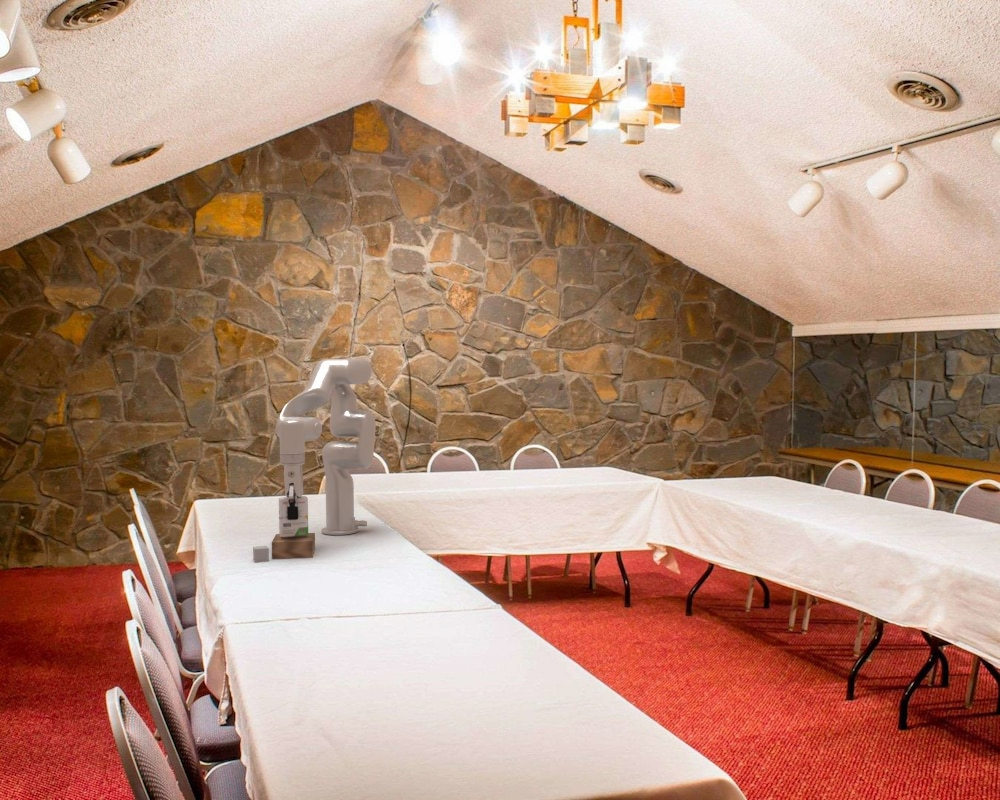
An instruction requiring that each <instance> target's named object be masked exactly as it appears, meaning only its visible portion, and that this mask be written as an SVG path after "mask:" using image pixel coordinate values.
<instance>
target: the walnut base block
mask: <svg viewBox="0 0 1000 800" xmlns="http://www.w3.org/2000/svg"><path fill="white" fill-rule="evenodd" d="M315 551H316V533H315V532H308V535H304V536H289V537H280V535H279V533H276V534H275V535H274V537H273V539H272V541H271V559H272V560H276V559H279V560H280V559H281V560H282V559H300V558H303V559H305V558H313V557H314V553H315Z"/></svg>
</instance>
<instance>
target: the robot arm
mask: <svg viewBox="0 0 1000 800" xmlns="http://www.w3.org/2000/svg"><path fill="white" fill-rule="evenodd" d="M372 373H373V372H372V366H371V363H370V362H369V361H368V360H367V359H366V358H365V359H364V358H326V359H321V360H319V361H318V362H317V363H316V365H315V367H314V369H313V371H312V374H311V375H310V378H309V380H308V382H307V385H306V386H305V387H306V388H305V389H304V390H303V391H302V392H300V393H299V394H297V395H296V396H294V397H293V398H292V399H291V400H289V401H288V402H287V403H286V404H285V405H284V406H283V407H282V410H281V411H280V414H279V416H278V417H277V418H278V419H277V421H276V424H275V432H276V435H277V438H279V465H280V466H283V476H284V479H283V480H284V483H283V484H284V496H285V497H288V507H287V519H288V520H297V519H298V506H297V497H301V496H303V495H304V477H303V476H304V474H303V465H305V464H306V448H305V447H306V443H305V442H313V441H316V440H318V439H319V438H320V437H321V435H322V433H323V425H322V422H321V420H319V419H318V418H316V417H312V416H302V415H303V414H305V413H309V412H311V411H314V410H318V409H319V408H322V407H324V406H326V405H328V404H329V402H330V399H331V406H330V408H331V409H330V416H329V418H330V419H329V431H330V434H331V435H332V436H334V437H336V438H342V439H343V438H344V439H345V438H346V439H347V438H348V439H349V438H351V439H353V438H354V439H358V441H356V440H355V441H353V440H352V441H349V440H333V441H329V442H327V443H325V445H324V446H323V448H322V451H321V452H322V453H321V456H322V462H323V467H324V476H325V477H324V478H325V521H326V523H325V524H326V525H325V527H323V528H322V529H321V533H322V534H325V535H329V536H345V535H352V534H355V533H359V532H360V530H359V527H367V526H368V520H358V519H356V517H355V508H354V507H355V499H354V497H355V496H354V493H355V491H354V486H355V485H354V480H353V476H352V475H351V472H349V470H367V469H369V468H370V467H371V466H372V464H373V460H374V452H375V441H376V440H375V439H376V428H377V425H376V418H375V416H374V414H373V413H372V412H371V411H369V410H360V409H358V410H357V398H358V397H357V394H356V393H355V391H354V390H353V388H352V387H351V386H350V385H361V384H367V383H368V381H369V380H370V379H371V377H372Z"/></svg>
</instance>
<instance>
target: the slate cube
mask: <svg viewBox="0 0 1000 800" xmlns="http://www.w3.org/2000/svg"><path fill="white" fill-rule="evenodd" d="M269 549H270V548H269V547H268V546H267V545H261V546H260V545H259V546H253V547H252V551H253V552H252V554H253V560H252V561H254V563H264V562H269V561H270V555H269V554H270V553H269V552H270V550H269Z"/></svg>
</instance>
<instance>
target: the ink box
mask: <svg viewBox="0 0 1000 800" xmlns="http://www.w3.org/2000/svg"><path fill="white" fill-rule="evenodd" d="M297 506H298V519H297V520H288V519H287V507H288V497H286V496H285V497H278V531H279V533H278V534H279V535H280V537H289V536H304V535H308V533H309V498H308V497H307V496H306V495H304V496H303V495H302V496H301V497H297Z"/></svg>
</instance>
